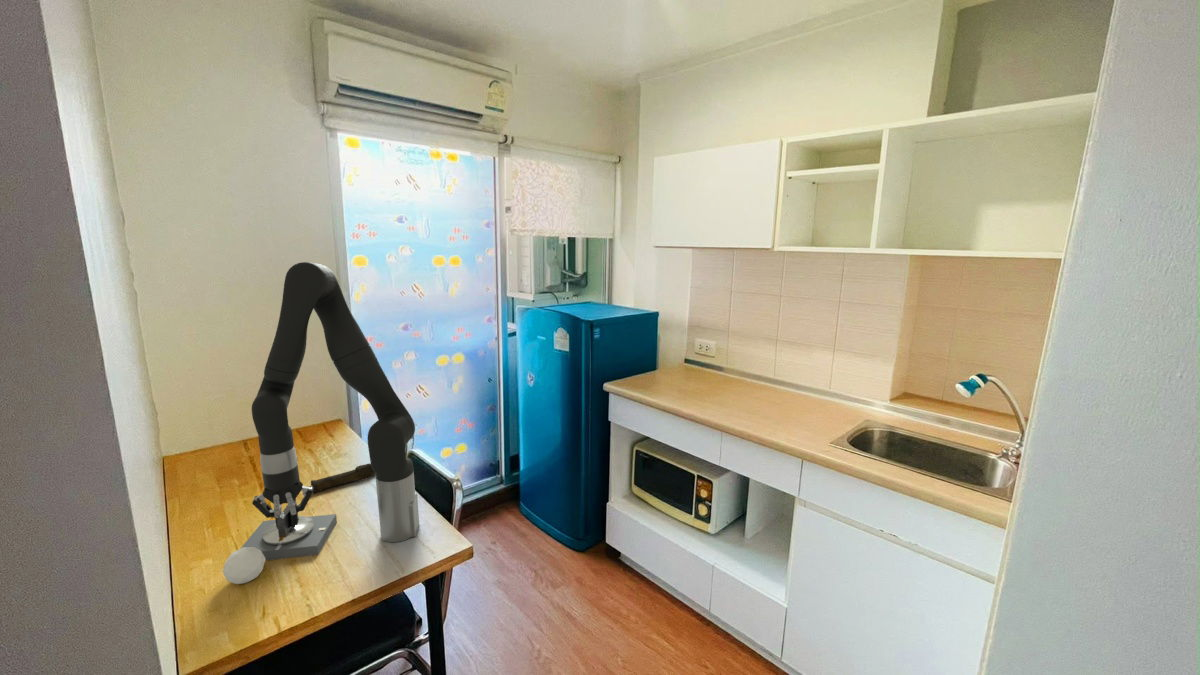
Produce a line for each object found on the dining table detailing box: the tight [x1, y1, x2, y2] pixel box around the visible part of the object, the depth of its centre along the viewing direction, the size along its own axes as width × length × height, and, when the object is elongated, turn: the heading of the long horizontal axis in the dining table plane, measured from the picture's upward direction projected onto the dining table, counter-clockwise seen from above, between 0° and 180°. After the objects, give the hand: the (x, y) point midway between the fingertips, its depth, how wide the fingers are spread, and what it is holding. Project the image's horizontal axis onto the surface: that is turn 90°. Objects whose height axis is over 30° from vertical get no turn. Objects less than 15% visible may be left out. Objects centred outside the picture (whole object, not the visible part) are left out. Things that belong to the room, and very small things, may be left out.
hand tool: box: [310, 463, 375, 494], centre depth 152 cm, size 19×4×5 cm, turn 126°
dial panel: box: [239, 513, 338, 561], centre depth 123 cm, size 18×14×3 cm
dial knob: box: [263, 504, 314, 545], centre depth 122 cm, size 11×11×6 cm
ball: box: [222, 546, 266, 585], centre depth 109 cm, size 8×8×8 cm
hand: (288, 527), depth 122 cm, fingers closed on dial knob, 2 cm apart
